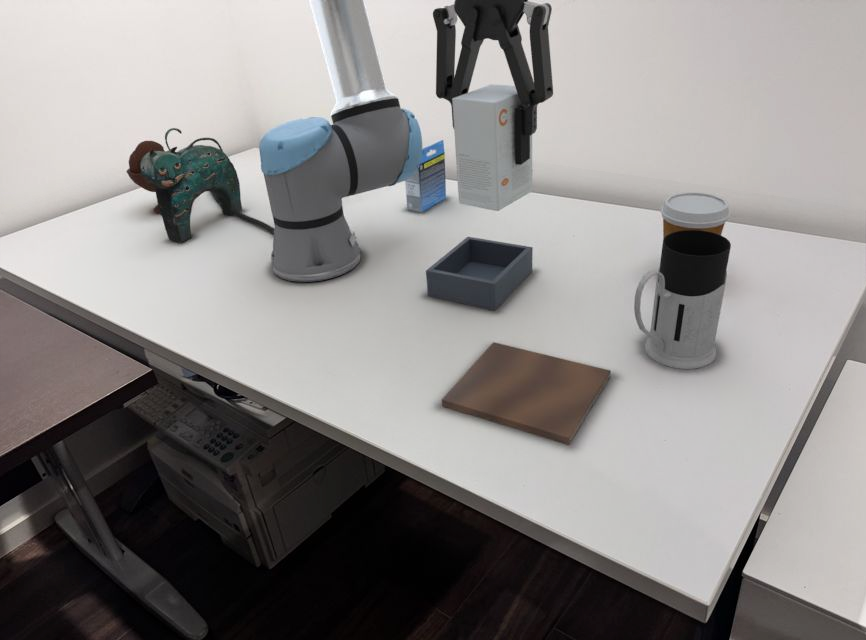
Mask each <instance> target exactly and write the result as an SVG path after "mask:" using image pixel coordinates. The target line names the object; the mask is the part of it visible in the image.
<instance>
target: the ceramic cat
mask: <svg viewBox="0 0 866 640" xmlns="http://www.w3.org/2000/svg"><path fill="white" fill-rule="evenodd" d="M172 131H176V132H178V133H179V134H182V133H183V132H182V130H181V129H180V128H176V127H172V128H171V127H170V128H169V129H168V130H167V131H165V133H164V140H165V145H166V147H167V149H168V150H164V151H153V150H152V149H151V151H150V152H148V153H147V154H146V155H145V156H144V157H143V158H142V160H141V164H140V165H141V172H142V176H143V178H144V180H145V181H146V182H147V183H148V184H150V185H151V186H153V187H154V188H155V190H156V192H155V196H156V201H157V205H158V207H159V211H160V213H161V214H160V215H161V219H162V222H163V224H164V229H165V232H166V235H167V238H168V240H169V241H171V242H174V243H179V244H183V243H185V242H187V241H188V240H190V239H192V238H193V236H192V228H191V215H192V210H193V209H192V208H193V205H194V202H195V200H196V199H198V197H200V196H201V195H202V194H204V193H205V192H210V193H211V192H213V193H214V194H215V195H216V196H217V198H218V201H219V203H220V204H219V203H218V204H219V205H220V208H221V212H222V214H223V215H227V216H230V217H231V216H235V215H234V214H233V213H232V211H233V210H236V211H238V212H240V213H242V211H243V205H242V199H241V197H242V196H241V184H240V180H239V175H238V173H237V170H236V168H235V166H234V164H233V163H232V162H231V160H230V157H229V156H228V155H227V153H225V152H224V150H223V148H222V146H221V145H220V142H218V140H217V139H215V138H213V137H200V138H197V139H194V140H193V141H192V142H191V143H190V144H189V145H187V146H186V147H183V148H182V149H180V150H177V149H178V146H174V147H172V148H170V146H169V143H168V135H169V134H170V133H171V132H172ZM200 141H212V142H213V143H215V144H216V145H217V146H218V147H215V146H211V145H203V144H196V143H198V142H200ZM218 201H217V202H218Z"/></svg>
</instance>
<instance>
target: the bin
mask: <svg viewBox="0 0 866 640" xmlns="http://www.w3.org/2000/svg"><path fill="white" fill-rule="evenodd" d="M533 249H534V248H533V247H532V246H527V245H521V244H515V243H511V242H510V243H509V242H503V241H498V240H491V239H486V238H480V237H472V236H466V238H464V239H462V241H460V242H459V243H457V244H456V245H455V246H454V247H453V248H452V249H450V250H449V251H448V252H447V253H446V254H444V255H443V256H442V257H440V259H438V260H437V261H436V262H435V263H433V264H432V265H431V266H429V267H428V268H426V270H425V276H426V287H427V297H431V298H434V299H440V300H445V301H450V302H453V303H459V304H464V305H467V306H471V307H472V306H473V307H476V308H481V309H486V310H491V311H496V310H498V309H499V308H500V306H502V305H503V303H504V302H505V301H506V300H508V298H510V296H511V295H512V294H513V293H514V292H515V291H516V290H517V289H518V288H519V287H520V286H521V285H522V284H523V283H524V281H526V279H527V278H528V277H529V276H530V275H531V274H532V273H533V254H534V253H533V252H534V251H533Z"/></svg>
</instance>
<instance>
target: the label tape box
mask: <svg viewBox="0 0 866 640" xmlns="http://www.w3.org/2000/svg"><path fill="white" fill-rule="evenodd" d="M431 151H432V152H433V151H435V152H434V153H432V154H429V155H428V153H430V152H431ZM445 153H446V152H445V145H444V139H440V140H439V141H437V142H434V143H432V144H430V145H428V146H425V147H422V157H421V162H420V165H419V168H418V170H417V172H416V173H415V175H414V176H413V177H411V178H410V179H408V180H405V181H404V182H405V198H406V199H405V200H406V210H409V211H413V212H416V213H423V212H425V211H427V210H429V209H430V208H432V207H433V206H435V205H436V204H439V203H440V202H442V201H443V200H445V199H447V185H446V182H447V181H446V179H447V178H446V156H445Z"/></svg>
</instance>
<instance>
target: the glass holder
mask: <svg viewBox="0 0 866 640" xmlns="http://www.w3.org/2000/svg"><path fill="white" fill-rule="evenodd" d="M661 246H662V247H661V254H660V263H659V269H658V270H651V271H648V272H647V273H646V274H645V275H643V276H642V278H641V279H640V281H639V282H638V285H637V286H636V288H635V294H634V304H633V305H634V306H633V308H634V318H635V321H636V324H637V327H638V328H639V330H640V331H641V332H642V333H644V334H645V335H646V336H647V337H648V338H647V340H646V341H645V344H644V350H645V352H646V354H647V356H648V357H649V358H651V359H652V360H653V361H655V362H656V363H658V364H661V365H663V366H665V367H670V368H672V369H673V368H674V369H679V370H693V369H700V368H703V367H706V366H709V365H710V364H711V363H713V362H714V361H715V359H716V357H717V349H716V346H715V342H716V337H717V333H718V332H717V331H718V327H719V321H720V317H721V310H722V305H723V299H724V295H725V289H726V283H727V277H728V275H727V273H728V272H727V268H728V265H729V258H730V254H731V247H732V244H731V242H730V240H729V239H728V238H726V237H725V236H723V235H722V234H721V235H719V234H716V233H712V232H708V231H701V230H683V231H677V232H673V233H670V234H668V235H667V236H665V237H664V239H663V238H662V245H661ZM654 276H656V284H655V291H654V298H653V307H652V315H651V322H650V323H651V324H650V331H649V330H648V329H646V327H645V325H644V322H643V319H642V314H641V303H642V301H641V300H642V295H643V290H644V288H645V285H646V284H647V283H648V281H649V280H650V279H651V278H652V277H654Z"/></svg>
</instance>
